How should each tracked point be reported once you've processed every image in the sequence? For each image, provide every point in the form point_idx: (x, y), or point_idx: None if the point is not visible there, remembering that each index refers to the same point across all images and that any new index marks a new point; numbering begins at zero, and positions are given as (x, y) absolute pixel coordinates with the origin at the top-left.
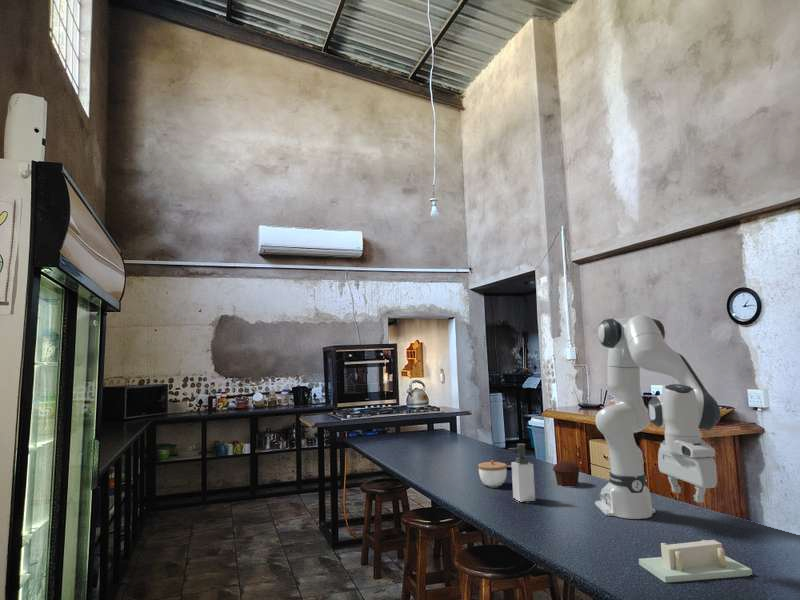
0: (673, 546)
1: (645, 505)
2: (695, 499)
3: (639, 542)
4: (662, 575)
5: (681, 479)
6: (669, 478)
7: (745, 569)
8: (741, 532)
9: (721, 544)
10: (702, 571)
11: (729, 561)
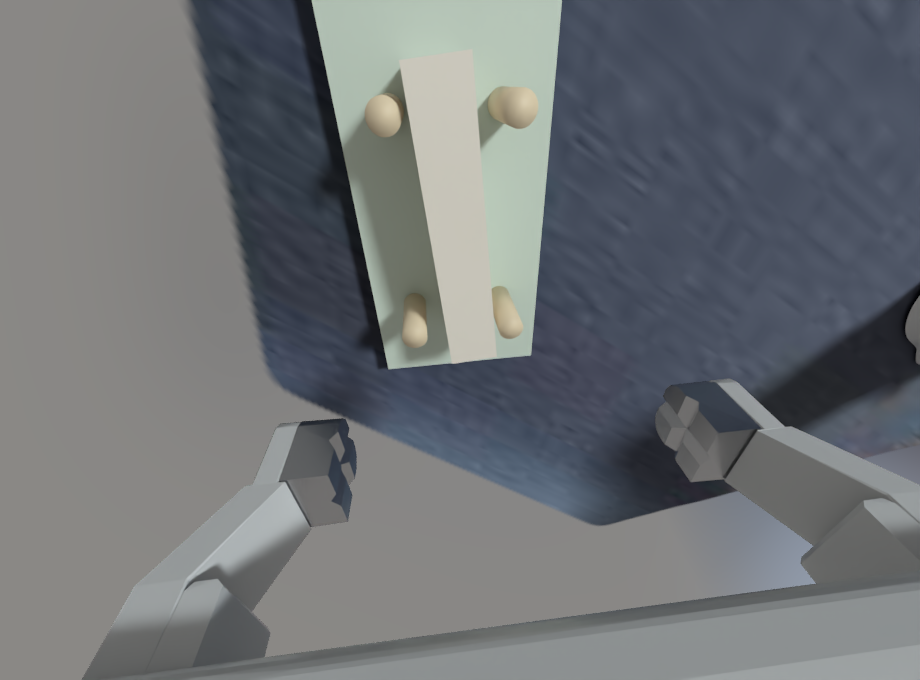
0: (444, 126)
1: None
2: (307, 434)
3: (770, 146)
4: None
5: (545, 634)
6: (905, 503)
7: (388, 354)
8: (655, 467)
9: (451, 360)
10: (373, 208)
11: None
